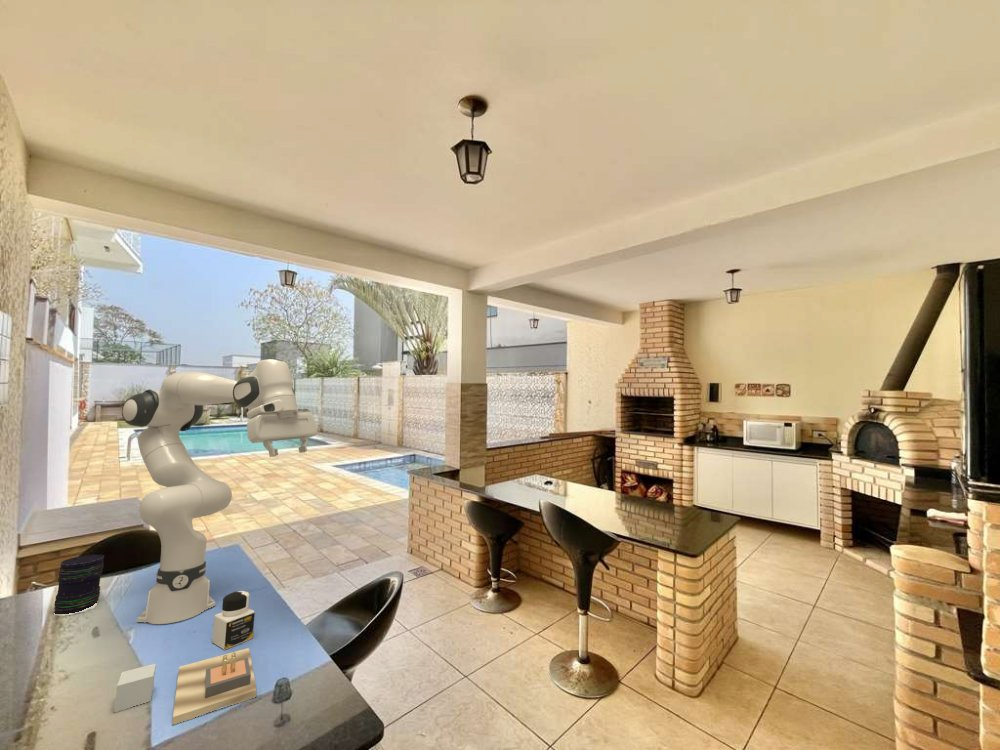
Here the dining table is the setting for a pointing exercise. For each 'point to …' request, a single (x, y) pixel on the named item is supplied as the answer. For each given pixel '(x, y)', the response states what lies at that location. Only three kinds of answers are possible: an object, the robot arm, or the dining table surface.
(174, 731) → the dining table surface
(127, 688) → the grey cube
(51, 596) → the dining table surface
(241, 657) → the board
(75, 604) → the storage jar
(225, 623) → the medicine bottle
